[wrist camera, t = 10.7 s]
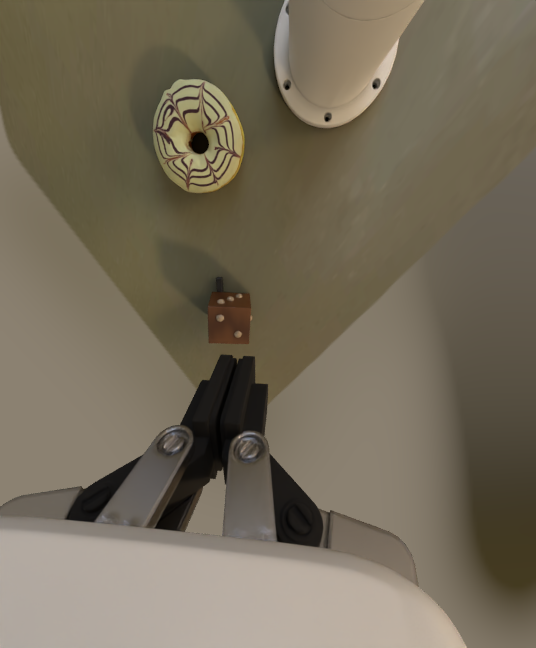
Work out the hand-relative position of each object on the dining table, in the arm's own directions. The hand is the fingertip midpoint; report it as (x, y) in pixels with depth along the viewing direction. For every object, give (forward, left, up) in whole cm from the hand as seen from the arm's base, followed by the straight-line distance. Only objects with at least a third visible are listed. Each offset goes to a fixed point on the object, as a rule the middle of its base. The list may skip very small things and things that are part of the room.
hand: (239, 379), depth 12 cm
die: (+8, -9, -23) cm, 26 cm away
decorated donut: (-14, -9, -27) cm, 32 cm away
